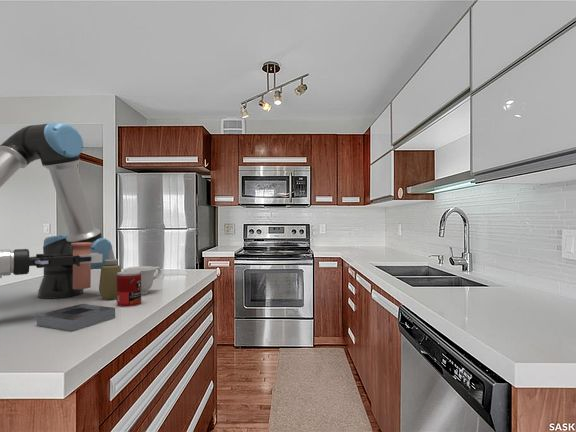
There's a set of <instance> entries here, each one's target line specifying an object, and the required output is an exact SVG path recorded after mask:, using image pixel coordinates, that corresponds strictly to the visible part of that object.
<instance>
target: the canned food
mask: <svg viewBox="0 0 576 432" xmlns="http://www.w3.org/2000/svg"><path fill="white" fill-rule="evenodd" d="M116 303H117V306H118V307H134V306H137V305H140V304H141V303H142V295H141V272H140V271H124V270H122V271H121V272H118V273H117V299H116Z"/></svg>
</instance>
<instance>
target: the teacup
mask: <svg viewBox="0 0 576 432" xmlns="http://www.w3.org/2000/svg"><path fill="white" fill-rule="evenodd" d="M157 270H158V272H157V274H156V275H155V273H156V271H157ZM122 271H140V272H141V296H143V295H147V294H148V293H149V291H148V290H151V288H152V286H153V282H154V280H156V279H157V278H159V277H160V276H161V274H162V269H161V267H160V266H150V265H147V266H146V265H144V266H143V265H142V266H130V267H125V268H123V270H122ZM154 275H155V276H154Z"/></svg>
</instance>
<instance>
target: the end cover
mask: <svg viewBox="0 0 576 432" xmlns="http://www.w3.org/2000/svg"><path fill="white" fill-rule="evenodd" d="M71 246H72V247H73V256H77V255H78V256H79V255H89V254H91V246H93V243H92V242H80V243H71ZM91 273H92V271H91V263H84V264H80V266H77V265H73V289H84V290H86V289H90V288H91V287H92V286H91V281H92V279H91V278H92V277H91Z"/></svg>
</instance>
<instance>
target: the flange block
mask: <svg viewBox="0 0 576 432" xmlns="http://www.w3.org/2000/svg"><path fill="white" fill-rule="evenodd" d="M113 319H116V307H111V306H102V305H96V304H95V305H94V304H86V303H80V304H75V305H72V306H68V307H64V308H59V309H55V310H51V311H48V312H42V313H39V314H36V327H42V328H43V327H44V328H50V329H54V330H55V329H56V330H61V331H67V332H74V331H75V332H76V331H77V330H80V329H81V330H82V329H85V328H89V327H90V326H93V325H98V324H99V323H103V322H106V321H109V320H113Z"/></svg>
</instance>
